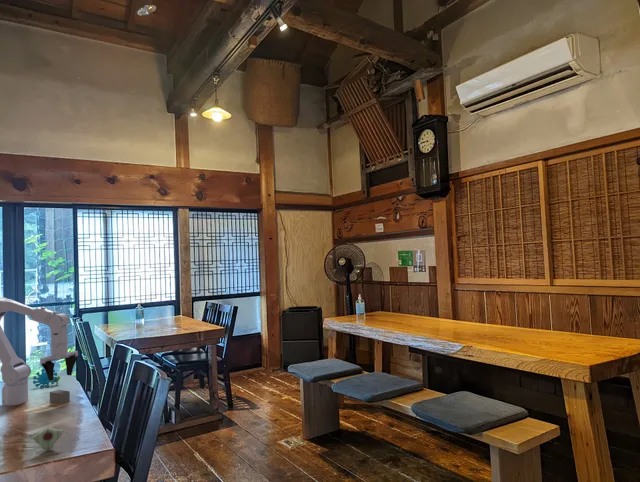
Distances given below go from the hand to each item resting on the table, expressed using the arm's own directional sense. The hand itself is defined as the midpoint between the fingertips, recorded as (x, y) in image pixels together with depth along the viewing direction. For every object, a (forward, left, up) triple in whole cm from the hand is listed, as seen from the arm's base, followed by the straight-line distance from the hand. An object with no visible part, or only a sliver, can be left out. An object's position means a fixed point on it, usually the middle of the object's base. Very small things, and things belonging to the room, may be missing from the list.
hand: (60, 377), depth 182 cm
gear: (-33, +14, -10) cm, 37 cm away
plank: (+5, -8, -10) cm, 14 cm away
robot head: (+45, -32, -10) cm, 56 cm away
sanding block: (+5, -4, -9) cm, 11 cm away
